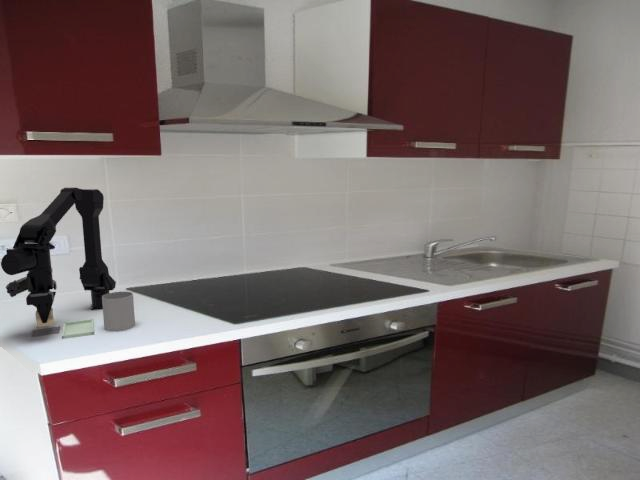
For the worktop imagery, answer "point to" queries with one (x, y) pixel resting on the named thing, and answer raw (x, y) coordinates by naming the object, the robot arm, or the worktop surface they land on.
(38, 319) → the letter cube
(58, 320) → the worktop surface
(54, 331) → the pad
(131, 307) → the cup
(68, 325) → the tray
